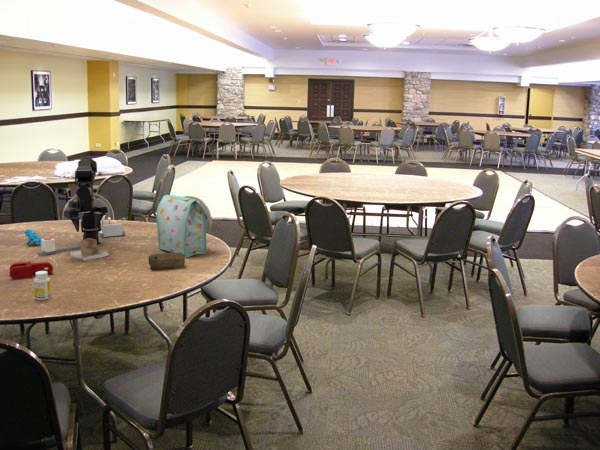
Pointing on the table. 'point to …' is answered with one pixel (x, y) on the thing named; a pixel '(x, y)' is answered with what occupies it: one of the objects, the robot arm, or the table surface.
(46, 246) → the white rectangular block
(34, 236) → the blue lobed piece
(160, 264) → the stone weight
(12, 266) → the mechanical linkage
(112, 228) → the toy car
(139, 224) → the table surface
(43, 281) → the supplement bottle
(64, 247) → the rail
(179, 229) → the lunch bag
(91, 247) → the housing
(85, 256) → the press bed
